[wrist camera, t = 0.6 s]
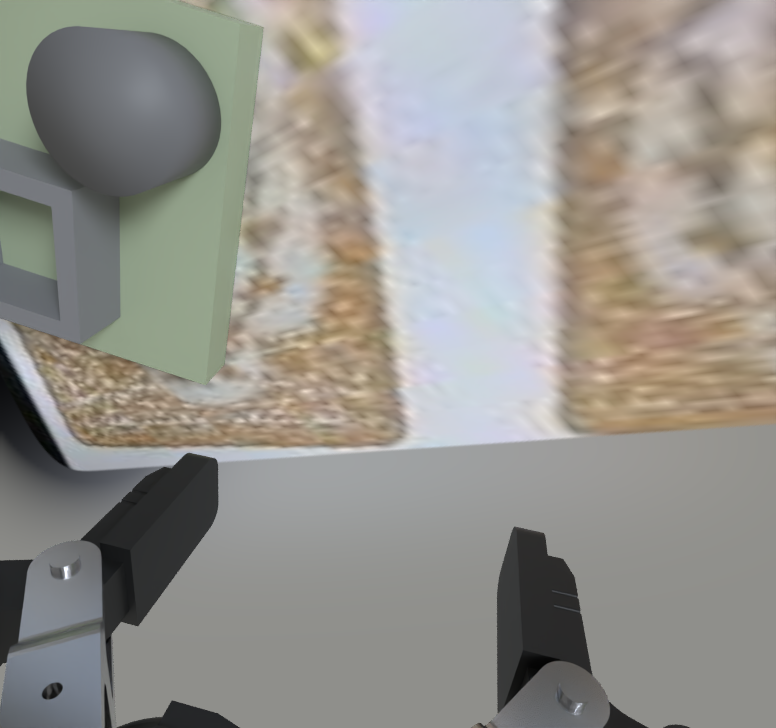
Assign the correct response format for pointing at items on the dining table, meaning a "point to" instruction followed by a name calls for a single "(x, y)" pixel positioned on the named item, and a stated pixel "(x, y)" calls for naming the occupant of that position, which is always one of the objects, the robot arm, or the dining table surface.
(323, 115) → the dining table surface
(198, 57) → the green panel with knob
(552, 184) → the dining table surface
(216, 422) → the dining table surface
